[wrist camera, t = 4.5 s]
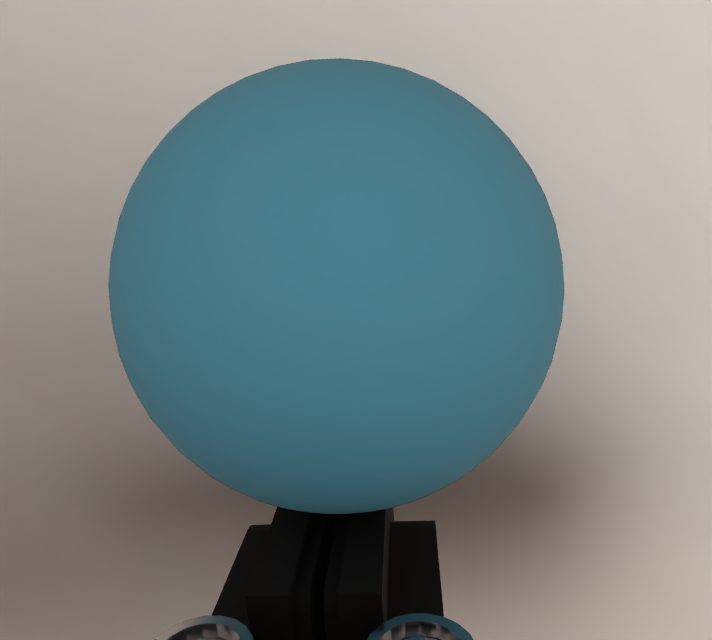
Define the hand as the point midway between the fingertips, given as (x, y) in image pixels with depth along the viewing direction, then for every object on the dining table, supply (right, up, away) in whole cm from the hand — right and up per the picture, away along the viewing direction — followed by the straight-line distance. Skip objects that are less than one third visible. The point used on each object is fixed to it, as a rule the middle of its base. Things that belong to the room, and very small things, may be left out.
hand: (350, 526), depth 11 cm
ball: (0, +4, -3) cm, 5 cm away
